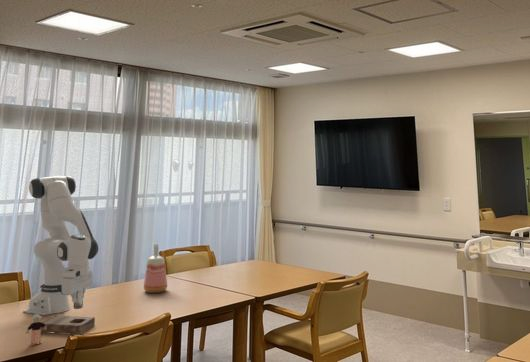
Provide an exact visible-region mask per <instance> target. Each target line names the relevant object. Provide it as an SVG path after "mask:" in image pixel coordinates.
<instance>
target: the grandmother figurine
mask: <svg viewBox="0 0 530 362" xmlns="http://www.w3.org/2000/svg"><path fill="white" fill-rule="evenodd" d="M41 320H42V316H41V315H40V314H34V315H33V316H32V321H33V322H32V323H31V324H29V326H28V327H27V330H26V331H25V334H29V332H30V339H29V340H30V341H29V342H30V343H29V345H34V346H35V345H36V344H38V343H41V337H42V336H41V335H42V332H41V329H40V327H43V328H44V330H46V329H47V328H46V326H45V324H44V323H42V322H43V321H41ZM41 344H42V343H41Z"/></svg>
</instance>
